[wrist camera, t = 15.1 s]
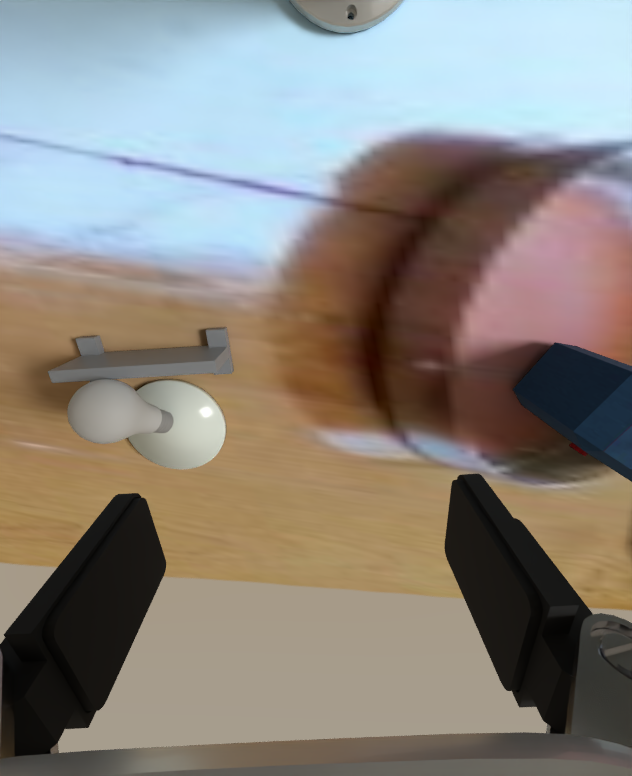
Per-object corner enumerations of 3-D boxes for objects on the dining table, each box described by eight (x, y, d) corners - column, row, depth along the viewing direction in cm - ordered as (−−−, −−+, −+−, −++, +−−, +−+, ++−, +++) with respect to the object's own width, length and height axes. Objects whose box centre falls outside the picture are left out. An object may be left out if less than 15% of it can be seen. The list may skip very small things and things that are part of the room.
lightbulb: (145, 449, 39) (43, 440, 29) (154, 398, 41) (59, 373, 31) (187, 450, 37) (92, 440, 27) (194, 396, 39) (106, 369, 29)
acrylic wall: (81, 336, 37) (40, 352, 31) (226, 327, 36) (211, 341, 31) (95, 379, 38) (59, 400, 33) (233, 370, 38) (220, 390, 33)
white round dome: (114, 382, 39) (110, 384, 38) (217, 375, 38) (215, 378, 38) (141, 468, 43) (138, 471, 42) (233, 462, 43) (232, 466, 42)
